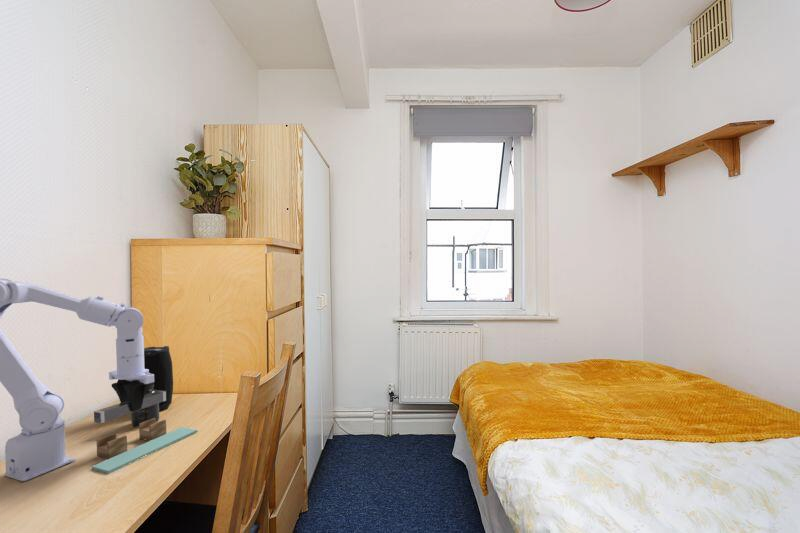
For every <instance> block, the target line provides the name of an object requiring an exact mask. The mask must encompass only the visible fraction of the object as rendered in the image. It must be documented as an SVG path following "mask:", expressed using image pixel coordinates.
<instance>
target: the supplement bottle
mask: <svg viewBox="0 0 800 533" xmlns="http://www.w3.org/2000/svg"><path fill="white" fill-rule="evenodd" d="M153 387H154V382H152V383H151V384H150V385H149V387H148V389H147V391H146V393H145V395H147V394H150V393H153V392H156V391H157V389H155V388H153ZM153 418H156V423H157V422H159V420H160V412H159V403H158V404H155V405H152V406H149V407H146V408H143V409H141V410H138V411H135V412H132V413H130V422H131V426H132V427H134V428H139V424H140V423H142V422H145V421H148V420H150V419H153Z"/></svg>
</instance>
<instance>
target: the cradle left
mask: <svg viewBox="0 0 800 533" xmlns="http://www.w3.org/2000/svg"><path fill="white" fill-rule="evenodd" d="M126 451H128V436H127V435H125V434H124V435H122V436H120V437H117V433H116V432H115V433H112V434H109V435H106V436H104V437H101V438H98V439H96V457H97V458H100V459H103V460H108V459H110V458H112V457H114V456H117V455H119V454H121V453H124V452H126Z"/></svg>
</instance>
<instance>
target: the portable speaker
mask: <svg viewBox="0 0 800 533" xmlns="http://www.w3.org/2000/svg"><path fill="white" fill-rule="evenodd" d="M144 368H145V369H149V373H150V374H154V387H153V388H155V389H157V391H159V390H161V391H166V401H163V402H160V403H159V411H160V412H163V411H166V410H168V409H169V406H170V405H171V404H172V403H173V402H172V400H173V393H174V376H173V375H174V374H173V373H174V372H173V361H172V357H171V352H170V347H169V345H164V346H146V347H144Z"/></svg>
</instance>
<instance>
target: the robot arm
mask: <svg viewBox="0 0 800 533" xmlns="http://www.w3.org/2000/svg"><path fill="white" fill-rule="evenodd" d="M31 302H32V303H37V304H42V305H46V306H49V307H54V308H58V309H63V310H66V311H69V312H70V311H72V312H75V313H76V315H77V317H78V318H79V320H82V321H83V320H84V321H86V322H90V323H93V324H98V325H101V326H106V327H108V328H109V327H115V328H116V339H115V350H116V352H115V353H116V369H115V370H112V371H109V372H108V379H109V380H110V381H111V380H112V381H113V380H117V382H114V383H111V387H112V389H113V390H114V392H115V393H116V395H117V397H118V399H119V403H122V402H125V401H128V400H129V404H130V409H131V411H132V412H134V411H137V410H140V409H141V407H142V403H143V399H144V396H145V393H146V391H147V389H148V387H149V385H150V384H151V383H152V382H154V374H150V373H149V369H145V368H144V348H145V342H144V341H145V338H144V337H145V336H144V335H143V333H144V330H143V325H144V322H145V319H144V317H143V314H142V312H141V311H140V310H139V309H137V308H135V307H134V306H127V304H125V303H121V304H118V303H116V302H112V301H108V300H106V299H105V297H104V296H101V295H98V296H97V297H95V296H88V297H86V298H82V299H81V298H78V297H76V296H72V295H70V294H66V293H63V292H60V291H56V290H53V289H50V288H46V287H44V286H40V285H37V284H33V283H28V282H22V281H13V280H11V279H8V278H0V320H1V319H2V317H3V315H4V313H5V311H6V310H7V309H8V308H9V307H11V305H13V304H21V303H22V304H23V303H31ZM0 384H2V386H3V387H4V388H5V390H6V391H7V392H8V394H9V395H10V396H11V397H12V401H13V404H14V406H13V407H14V409H15V411H16V413H17V414H18V418H19V420H18V422H19V426H20V427H21V428H22V429H21V431H20V433H19V434H18V435H16V436H13V437H11V438H8V439H7V440H6V443H5V448H4V451H5V452H4V453H5V454H4V456H5V472H4V474H3V475H4V476H5V477H8V478H11V479H13V480H17V481H20V482H26V481H29V480H30V479H33V478H36V477H38V476H41V475H43V474H46V473H48V472H51V471H52V470H55V469H58V468H61V467H63V466H65V465H67V464H70V463H73V462H74V461H76V459H75V458H74V457H70V456H67V455H66V432H65V429H66V428H65V427H66V426H65V420H64V419H63V418H62V417H61V416H60V414H61V413H62V412H63V410H64V408H65V401H64V398H62V396H61V395H59V394H57V393H54V392H52V391H51V390H50V389H49V388H48V386H47V385H46V384H43V383H42V382H40V380H39V379H38V377H37V376H36V375H35V373H34V372H33V371H32V370H31V368H30V367H29V365H28V364H27V362H25V360H24V359H23V358H22V356H21V355H20V353H19V352H18V351H17V349H16V348H15V347H14V345H13V344H12V343H11V341H10V340H9V338H8V337H7V336H6V335H5V333H4V332H3V330H2V329H1V328H0Z"/></svg>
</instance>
